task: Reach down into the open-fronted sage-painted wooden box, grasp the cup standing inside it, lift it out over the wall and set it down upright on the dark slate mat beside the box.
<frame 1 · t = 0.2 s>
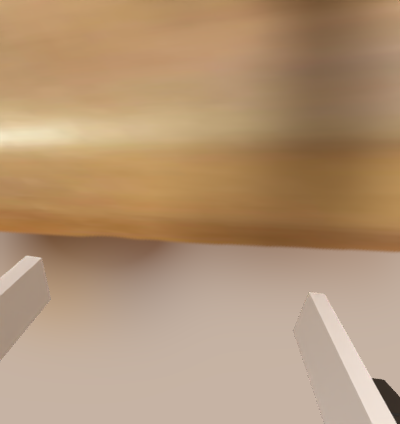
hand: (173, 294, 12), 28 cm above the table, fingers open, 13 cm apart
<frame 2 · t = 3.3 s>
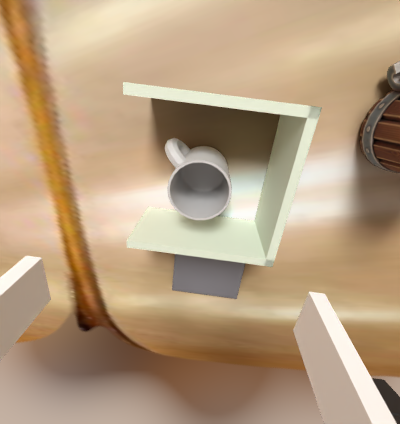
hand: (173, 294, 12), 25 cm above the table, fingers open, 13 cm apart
mug: (395, 109, 30), on the table
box: (211, 164, 34), on the table
cup: (197, 162, 35), on the table
mat: (209, 261, 42), on the table
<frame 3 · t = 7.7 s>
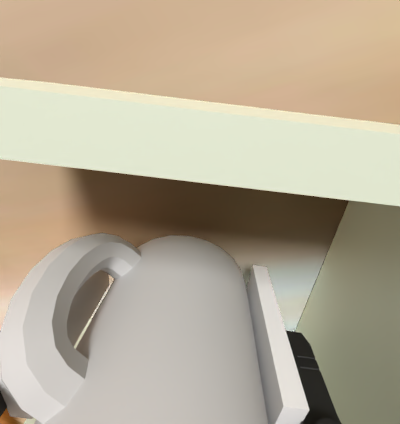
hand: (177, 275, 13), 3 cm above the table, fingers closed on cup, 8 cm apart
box: (205, 249, 16), on the table
cup: (168, 266, 14), point 2 cm above the table, touching gripper
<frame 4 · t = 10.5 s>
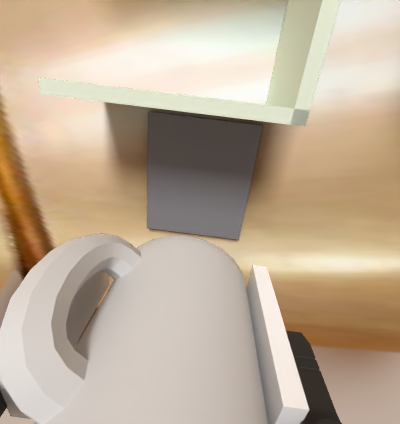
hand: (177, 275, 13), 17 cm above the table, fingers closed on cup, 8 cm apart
cup: (167, 266, 14), point 16 cm above the table, touching gripper
mat: (198, 180, 29), on the table
when the fingers open (2 cm above the table, at t = 13.4 s): cup stays where it is, resting on mat.
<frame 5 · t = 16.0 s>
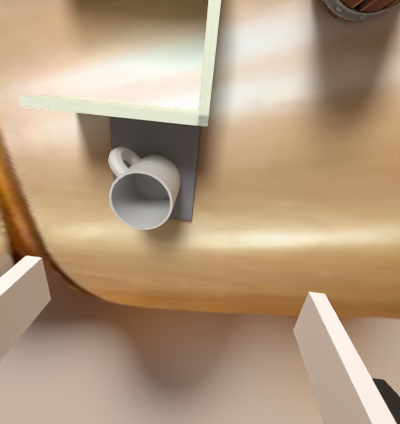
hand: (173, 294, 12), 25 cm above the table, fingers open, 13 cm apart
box: (141, 30, 28), on the table
cup: (150, 170, 35), point 1 cm above the table, touching mat
mat: (155, 171, 35), on the table
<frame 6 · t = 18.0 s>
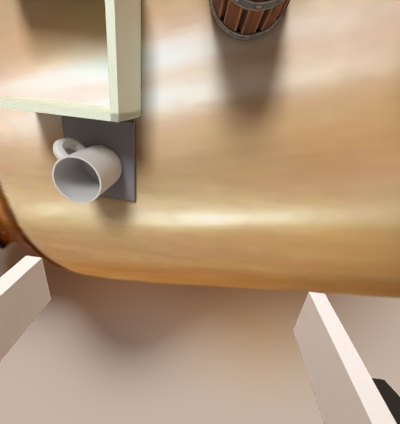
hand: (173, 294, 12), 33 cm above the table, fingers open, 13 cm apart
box: (81, 44, 36), on the table
cup: (97, 158, 42), point 1 cm above the table, touching mat
mat: (102, 159, 43), on the table
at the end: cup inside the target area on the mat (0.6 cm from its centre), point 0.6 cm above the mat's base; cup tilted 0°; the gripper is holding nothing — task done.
